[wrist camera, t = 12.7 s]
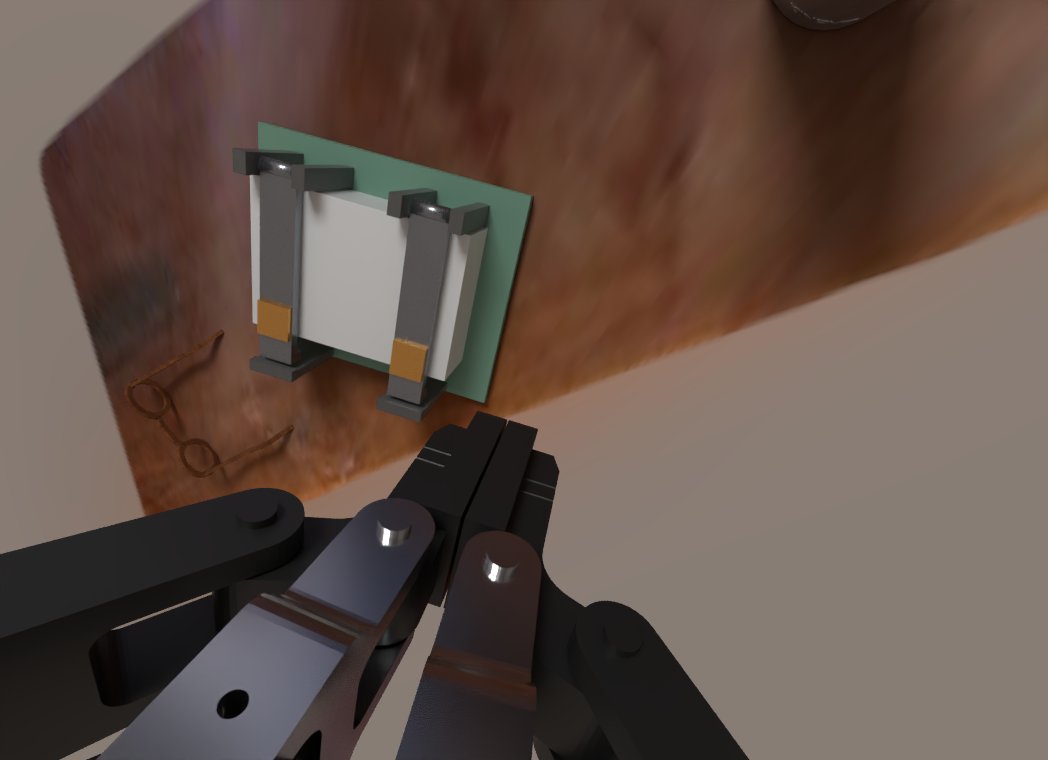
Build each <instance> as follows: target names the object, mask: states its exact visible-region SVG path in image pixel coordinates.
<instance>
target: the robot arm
mask: <svg viewBox="0 0 1048 760" xmlns="http://www.w3.org/2000/svg"><path fill="white" fill-rule="evenodd" d="M773 1H774V3H775V4H776V6H777V7H778V8H779V10H780V11H781V12H782V14H783V15H784V16H786V17H787V18H788V19H790V20H791V21H792V22H794V23H795V24H797V25H800V26H803V27H805V28H808V29H815V30H832V29H840V28H843V27H846V26H849V25H852V24H854V23H857V22H859V21H861V20H862V19H864V18H866V17H868V16H869V15H871V14H873V13H875V12H876V11H878V10H880V9H881V8H883V7H885V6H886V5H888V4H890V3H891V2H893V1H895V0H773ZM506 424H507V419H503V418H500V417H497V416H494V415H490V414H487V413H484V412H481V411H477V413H476V414H475V416H474V417H473V419H472V421H471V423H470V424H469V426H468V428H467V429H465V428H462V427H459V426H456V425H453V424H449V425H447V426H445V427H443V428H441V429H439V430H438V431H436V432H434V433H433V435H432V436H431V437H430V439H429V440H428V442H427V443H426V444H425V447H424V448H423V449H422V450H421V451H420V453H419V454H418V456H417V459H415V460H414V462H413V463H412V464H411V466H410V467H409V468H408V470H407V471H406V473H405V474H404V476H403V477H402V478H401V480H400V481H399V482H398V484H397V485H396V487H395V488H394V489H393V491H392V492H391V494H390V495H389V497H388V498H387V499H381V500H377V501H374V502H372V503H370V504H368V505H366V506H365V507H363V508H362V509H361V510H360V511H359V512H358V513H357V514H356V516H355V517H353V518H345V519H331V518H315V517H304V514H305V513H304V507H303V504H302V503H301V501H300V500H299V499H298V498H297V497H296V496H294V495H293V494H291V493H289V492H286V491H284V490H280V489H274V488H257V489H250V490H245V491H242V492H238V493H234V494H230V495H226V496H222V497H219V498H215V499H211V500H207V501H203V502H199V503H195V504H192V505H188V506H184V507H180V508H176V509H172V510H169V511H165V512H161V513H157V514H153V515H149V516H146V517H142V518H138V519H134V520H130V521H126V522H122V523H119V524H115V525H111V526H108V527H103V528H99V529H96V530H92V531H88V532H84V533H80V534H76V535H73V536H69V537H65V538H61V539H57V540H53V541H50V542H46V543H42V544H38V545H34V546H30V547H27V548H23V549H19V550H15V551H12V552H7V553H4V554H0V760H59V759H62V758H64V757H66V756H68V755H70V754H72V753H74V752H76V751H78V750H80V749H82V748H84V747H87V746H88V745H91V744H93V743H95V742H97V741H99V740H101V739H103V738H105V737H107V736H109V735H112V734H114V733H116V732H118V731H120V730H122V729H124V728H126V727H127V728H126V729H125V730H124V731H123V732H122V733H121V734H120V735H119V737H118V738H116V739H115V741H114V742H113V743H112V744H111V745H110V746H109V747H108V748H107V749H106V750H105V751H104V752H103V753H102V754H99V755H97V756H94V757H92V758H90V759H87V760H350V758H351V756H352V753H353V750H354V748H355V746H356V744H357V742H358V740H359V738H360V736H361V734H362V732H363V730H364V728H365V726H366V725H367V723H368V721H369V719H370V717H371V715H372V714H373V712H374V710H375V708H376V706H377V704H378V702H379V701H380V699H381V697H382V695H383V693H384V691H385V689H386V688H387V686H388V684H389V682H390V680H391V678H392V676H393V675H394V673H395V671H396V669H397V667H398V665H399V664H400V662H401V660H402V658H403V656H404V654H405V652H406V650H407V649H408V647H409V645H410V643H411V641H412V638H413V636H414V631H415V629H416V627H417V625H418V624H419V622H420V619H421V617H422V615H423V613H424V610H425V608H426V606H427V604H428V603H429V604H432V605H435V606H438V607H440V606H441V604H442V601H443V599H444V597H445V594H446V592H447V595H446V600H445V604H444V608H445V609H444V613H443V616H442V619H441V622H440V626H439V629H438V632H437V635H436V638H435V642H434V645H433V648H432V651H431V654H430V656H428V659H427V661H426V664H425V667H424V670H423V673H422V677H421V679H420V683H419V686H418V689H417V692H416V695H415V698H414V702H413V705H412V708H411V711H410V714H409V718H408V721H407V724H406V727H405V731H404V733H403V737H402V740H401V743H400V746H399V749H398V753H397V756H396V759H395V760H531V758H532V747H533V743H534V748H535V750H536V753H537V756H538V758H539V760H749V759H748V757H747V756H746V755H745V753H744V752H743V751H742V749H741V748H740V746H739V745H738V744H737V742H736V741H735V740H734V738H733V737H732V736H731V734H730V733H729V731H728V730H727V729H726V728H725V726H724V724H723V723H722V722H721V720H720V719H719V718H718V716H717V715H716V713H715V712H714V711H713V710H712V708H711V707H710V705H709V704H708V703H707V701H706V700H705V699H704V697H703V696H702V694H701V693H700V692H699V690H698V689H697V687H696V686H695V685H694V683H693V682H692V681H691V679H690V678H689V677H688V675H687V674H686V672H685V671H684V670H683V668H682V667H681V665H680V664H679V663H678V661H677V660H676V659H675V657H674V656H673V655H672V653H671V652H670V650H669V649H668V648H667V646H666V645H665V644H664V642H663V641H662V639H661V638H660V637H659V636H658V634H657V633H656V631H655V630H654V628H653V627H652V626H651V625H650V624H649V622H648V621H647V620H646V619H645V618H644V617H643V616H641V615H640V614H639V613H638V612H636V611H634V610H633V609H631V608H630V607H628V606H625V605H623V604H620V603H617V602H612V601H599V602H594V603H592V604H590V605H588V606H587V607H584V606H582V605H581V604H579V603H578V602H576V601H575V600H573V599H572V598H570V597H569V596H567V595H566V594H565V593H563V592H562V591H561V590H560V589H559V588H558V587H556V585H555V584H554V583H553V582H552V581H551V579H550V578H549V576H548V574H547V572H546V570H545V568H544V564H543V559H542V554H543V547H544V542H545V537H546V533H547V528H548V522H549V519H550V514H551V509H552V504H553V499H554V495H555V489H556V485H557V480H558V475H559V469H558V467H557V464H556V461H555V459H554V456H552V455H549V454H546V453H543V452H539V451H536V450H533V449H532V448H533V445H534V441H535V438H536V435H537V431H538V429H536V428H533V427H530V426H526V425H523V424H520V423H517V422H513V421H510V420H509V421H508V424H507V426H506ZM447 589H448V591H447ZM210 592H212V595H209V596H207V597H204V598H201V599H198V600H196V601H193V602H190V603H188V604H185V605H183V606H180V607H177V608H174V609H172V610H169V611H166V612H164V613H161V614H158V615H156V616H153V617H151V618H148V619H145V620H142V621H139V622H137V623H134V624H131V625H129V626H126V627H123V628H120V629H116V630H112V629H114V628H116V627H118V626H120V625H123V624H126V623H128V622H131V621H134V620H137V619H139V618H142V617H145V616H147V615H150V614H152V613H156V612H158V611H161V610H164V609H166V608H169V607H172V606H175V605H177V604H180V603H183V602H185V601H188V600H191V599H193V598H196V597H199V596H201V595H204V594H207V593H210Z"/></svg>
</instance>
